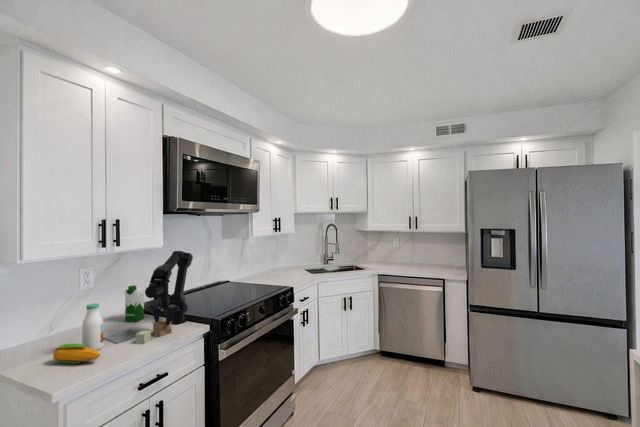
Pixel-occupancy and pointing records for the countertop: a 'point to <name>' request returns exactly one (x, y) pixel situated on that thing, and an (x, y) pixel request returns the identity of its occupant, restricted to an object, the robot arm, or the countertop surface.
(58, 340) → the countertop surface
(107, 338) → the slate coaster
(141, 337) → the olive block
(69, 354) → the corn
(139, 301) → the milk carton
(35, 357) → the countertop surface
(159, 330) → the walnut cube
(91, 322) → the milk bottle
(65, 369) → the countertop surface
